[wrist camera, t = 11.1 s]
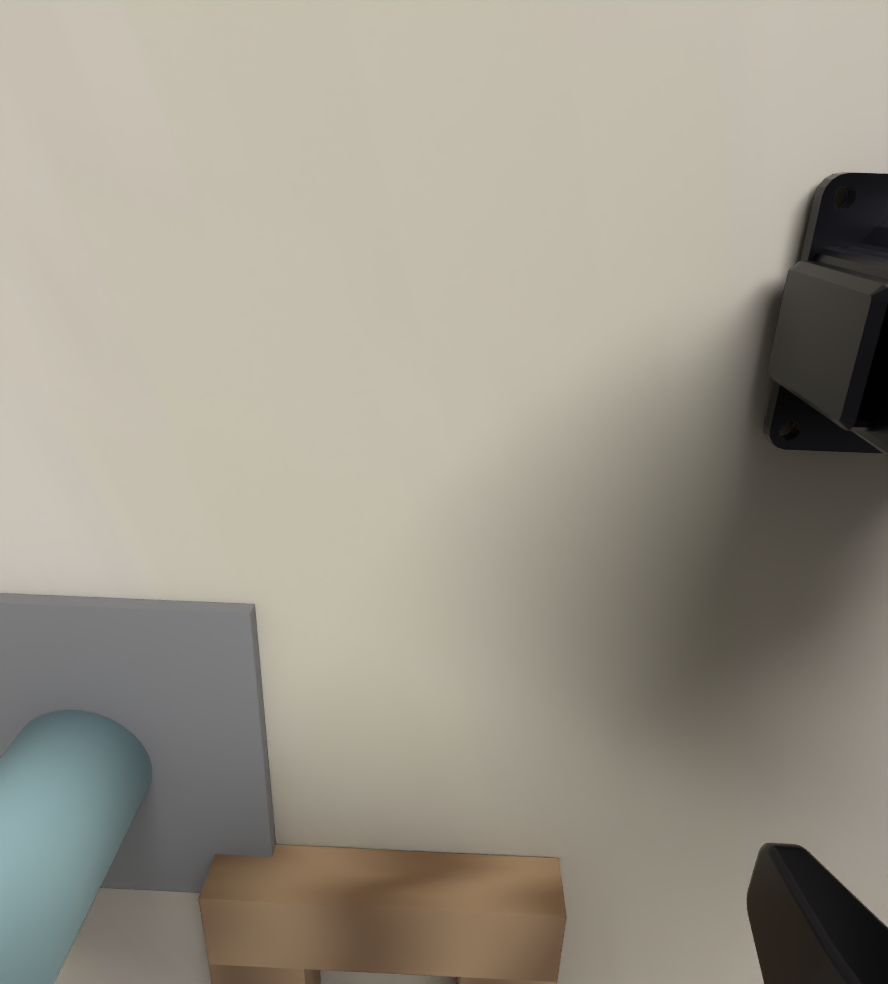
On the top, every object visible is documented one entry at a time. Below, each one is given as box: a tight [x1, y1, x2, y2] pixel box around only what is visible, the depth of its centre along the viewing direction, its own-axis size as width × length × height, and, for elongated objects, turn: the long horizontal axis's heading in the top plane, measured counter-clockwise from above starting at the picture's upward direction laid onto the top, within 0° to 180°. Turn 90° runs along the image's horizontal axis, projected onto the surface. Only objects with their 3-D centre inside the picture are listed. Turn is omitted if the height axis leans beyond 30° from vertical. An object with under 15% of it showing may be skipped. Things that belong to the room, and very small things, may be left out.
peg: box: [0, 710, 152, 984], centre depth 20 cm, size 4×4×9 cm
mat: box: [0, 593, 276, 893], centre depth 24 cm, size 12×12×1 cm
